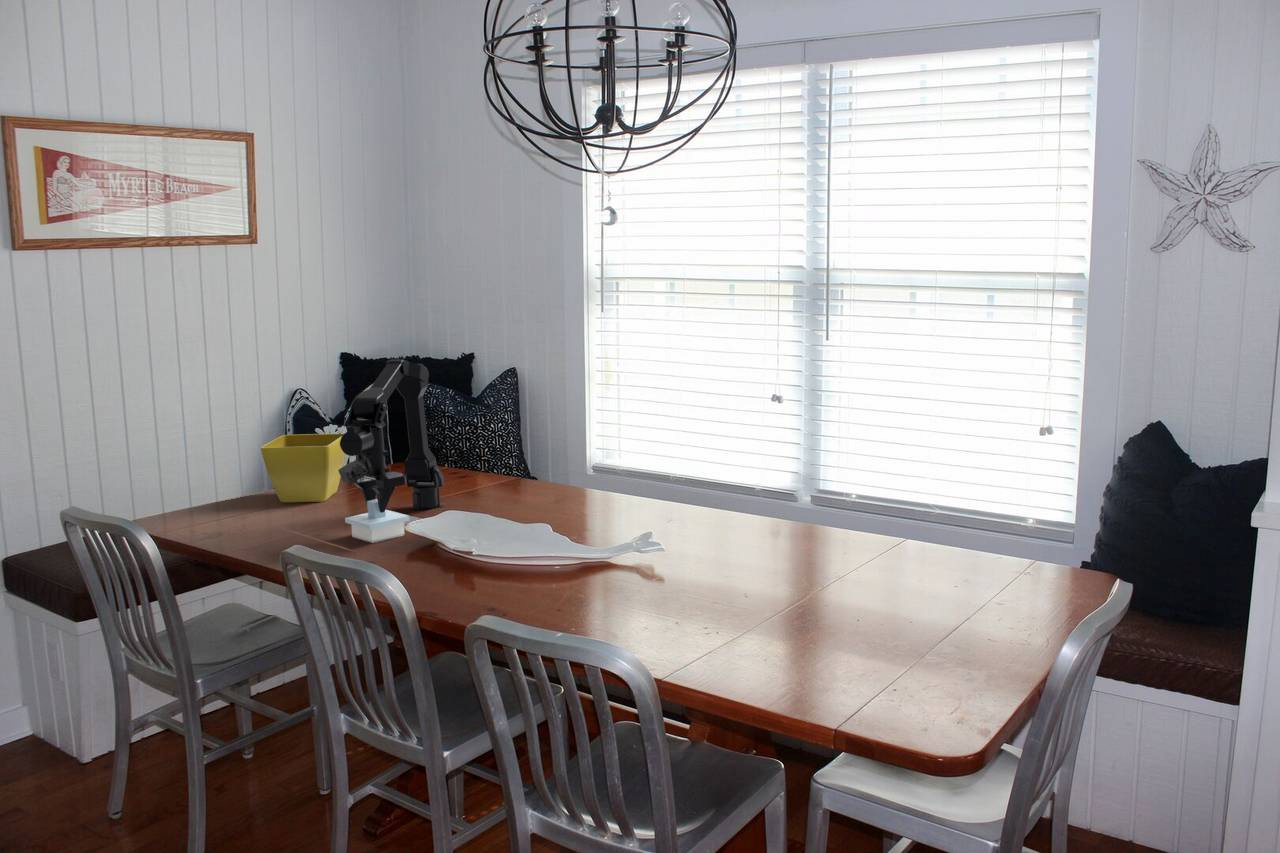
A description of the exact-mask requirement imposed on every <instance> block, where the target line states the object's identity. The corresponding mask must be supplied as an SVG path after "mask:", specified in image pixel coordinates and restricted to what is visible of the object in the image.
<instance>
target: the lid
mask: <svg viewBox="0 0 1280 853" xmlns="http://www.w3.org/2000/svg"><path fill="white" fill-rule="evenodd" d="M366 507H367V512H365V513H361V514H356V515H353V516H352V515H351V516H348V517H344V521H345V524H349V525H350V526H351V525H355V526H358V527H362V528H365V529H369V530H372V529H376V528H380V527H385V526H389V525H393V524H397V523H401V522H405V521H409V516H410V515H409V516H408V514H404V513H402V514H401V512H398V513H397V511H393V510H390V509H389V510H388V509H385V512H382V513H381V512H380V510H379V506H378V500H377V498H375V500H370V501H367V504H366Z"/></svg>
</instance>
